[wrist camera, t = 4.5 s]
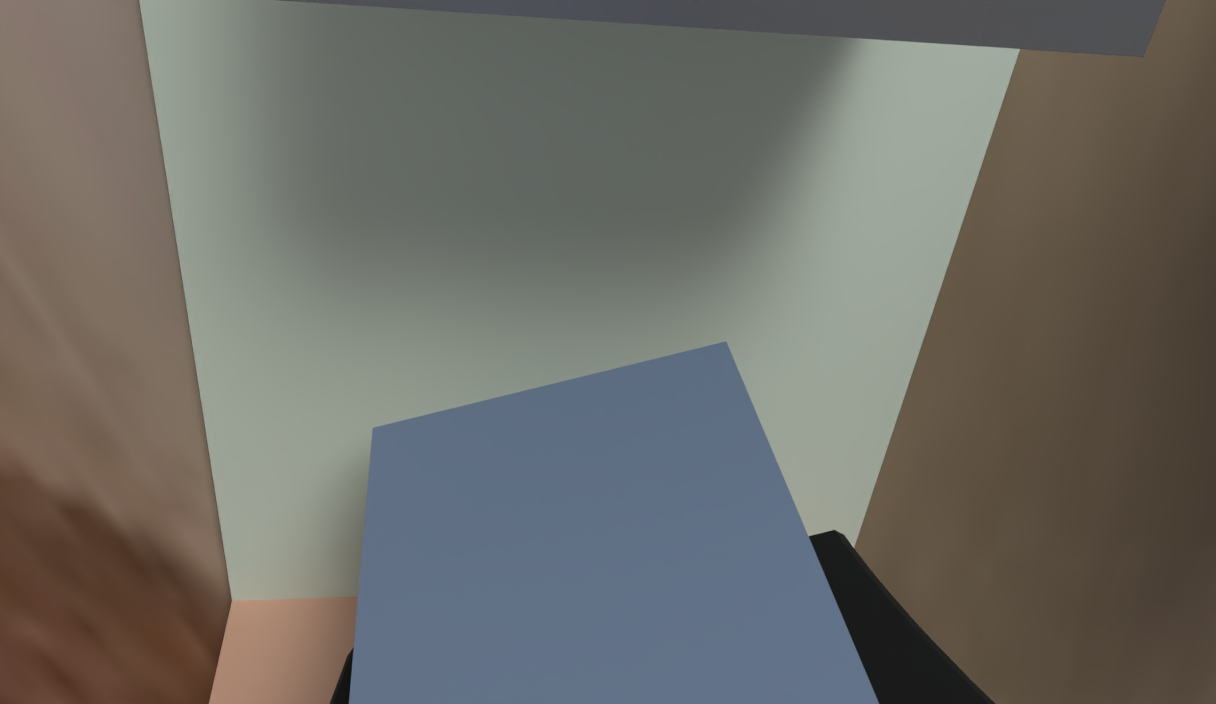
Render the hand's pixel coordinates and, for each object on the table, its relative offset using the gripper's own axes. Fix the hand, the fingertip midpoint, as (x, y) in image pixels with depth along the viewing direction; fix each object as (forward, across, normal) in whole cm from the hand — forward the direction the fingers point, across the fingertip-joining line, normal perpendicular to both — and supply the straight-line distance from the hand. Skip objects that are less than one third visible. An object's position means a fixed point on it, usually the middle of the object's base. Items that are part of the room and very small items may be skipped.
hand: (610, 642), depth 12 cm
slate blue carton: (+2, 0, 0) cm, 2 cm away
